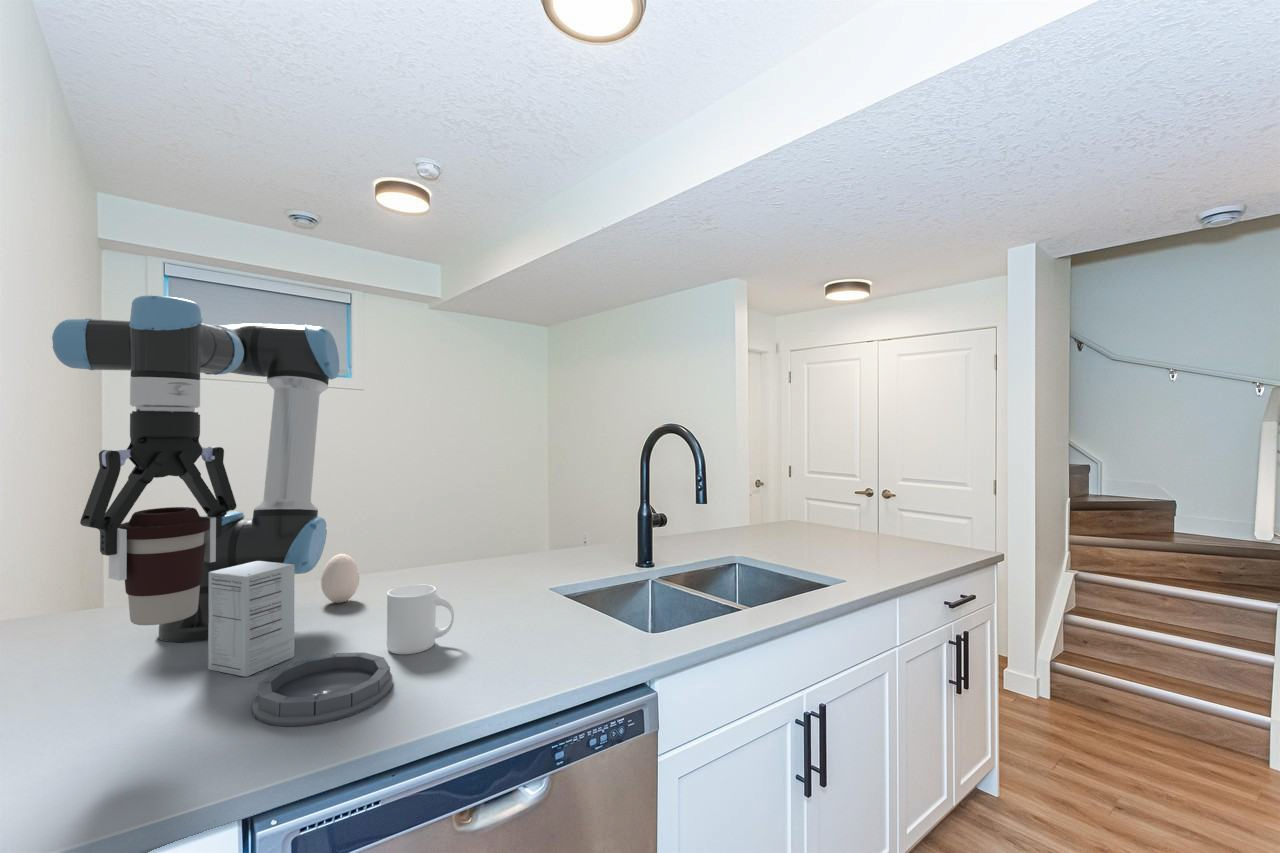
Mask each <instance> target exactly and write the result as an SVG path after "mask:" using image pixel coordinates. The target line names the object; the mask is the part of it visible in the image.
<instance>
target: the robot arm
mask: <svg viewBox="0 0 1280 853" xmlns="http://www.w3.org/2000/svg"><path fill="white" fill-rule="evenodd" d="M132 300H133V301H131V302H132V303H131V307H130V318H129V321H128V320H113V319H93V318H70V319H69V318H68V319H65V320H62V321H61V322H59V323H58V324H57V326H55V328H54V330H53V332H52V334H51V335H52V336H51V340H52V350H53V352H54V355H55V357H56V358H57V359H58V361H60V362H61V363H62V364H63V365H64V366H66V367H69V368H71V369H80V370H81V369H82V370H89V371H130V378H129V379H130V380H129V389H130V390H129V406H130V407H135V410H132V411H131V413H129V438H130V441H129V445H128V446H127V448H126V449H119V450H117V449H116V450H113V449H112V450H110V449H109V450H108V449H102V450H100V451H99V453H98V460H99V461H98V465H99V469H98V472H97V474H96V477H95V480H94V483H93V484H92V487H91V491H90V494H89V497H88V499H87V500H86V501H87V502H86V505H85V508H84V510H83V513H82V516H81V519H80V521H79V523H80V525H81V526H82V527H88V528H93V529H97V530H98V531H99V551H100V553H101V555H103V556H106V557H107V556H108V579H112V580H116V581H125V579H126V568H127V530H126V529H120V528H119V526H120V525H121V524H123V523H124V520H125V519H126V517H127V516H128V514H129V513H130V511H131V510H132V508H133V507H134V505H135V503H136V502H137V501H138V499H139V498H140V496H141V495H142V493H143V491H144V490H145V489H146V487H147V486H148V485H149V484H150V483H152V482H153V480H154V478H155V479H157V478H158V479H159V478H166V477H168V476H170V477H179V478H180V479H181V480H182V481H183V482H184V484H185V485H186V486H187V488H188V490H189V491H190V493H191V494H192V496H194V498H195V499H196V500H195V501H197V503H198V504H199V505H200V507H201V508H202V510H203V511H204V512H205V514H204V515H200V516H201V517H207V518H209V519H210V529H209V530H207V531H205V533H204V543H205V555H204V566H203V578H202V583H201V584H200V590H199V602H198V610H197V612H196V613H195V614H194V615H192V616H190V617H188V618H185V619H183V620H179V621H175V622H171V623H166V624H159V625H158V639H159V640H160V641H163V642H169V643H170V642H171V643H189V642H199V641H205V640H208V625H209V572H211V571H215V570H219V569H224V568H228V567H233V566H237V565H241V564H245V563H249V562H254V561H266V562H275V563H285V564H294V575H300V574H306V573H307V574H308V573H309V572H311V571H312V570H314V568H315V567H316V566H317V565H318V563H319V561H320V560H321V557H322V555H323V552H324V549H325V547H326V546H325V545H326V541H327V535H328V534H327V533H328V532H327V531H328V530H327V526H328V525H327V522H326V519H324V517H321V516H319V509H318V507H317V506H316V505H314V504H313V502H312V490H313V489H312V488H313V477H314V464H315V455H316V454H315V453H316V444H317V443H316V441H317V430H318V429H317V428H318V419H319V417H318V416H319V407H320V406H319V405H320V395H321V394H322V393H323V392H325V391H326V390H327V389H328V387H329V380H334V379H335V380H336V378H338V376H339V373H340V358H339V349H338V346H337V343H336V340H335V338H334V336H333V334H332V332H331V331H330V330H329V329H327V328H325V327H324V326H316V325H315V326H314V325H308V324H304V325H303V324H301V325H299V324H279V323H275V324H274V323H258V322H256V323H255V322H253V323H250V322H249V323H238V324H237V323H236V324H235V323H234V324H223V325H222V324H207V323H204V322H203V318H202V313H201V307H200V306H199V304H198V303H197V302H194V301H192V300H190V299H189V300H188V299H185V298H179V297H173V296H166V295H165V296H164V295H141V296H140V295H139V296H137V297H135V298H134V299H132ZM229 373H230V374H235V375H237V374H238V375H242V376H252V377H265V378H266V383H267V384H268V385H269V386H270V387H271V388H272V389H273V403H272V410H271V418H270V419H271V420H270V430H269V440H268V441H269V442H268V450H267V461H266V473H265V482H264V493H263V500H262V502H261V503H260V504H259V505H257V506H256V507H255V508H253V515H252V518H245V515H244V512H243V511H240V510H238V511H237V509H236V508H237V502H236V498H235V496H234V493H233V490H232V487H231V483H230V481H229V477H228V474H227V473H228V472H227V470H226V467H225V464H224V456H225V449H224V448H223V447H221V446H208V447H205V446H204V447H202V445H201V443H200V436H201V414H199V412H198V411H196V412H195V410H196V409H197V408H200V407H201V374H206V375H226V374H229ZM200 457H201V459H202V460H203V461H204V464H205V469H206V471H207V474H208V477H209V480H210V483H211V486H212V490H213V493H214V494H213V493H212V491H211V489H210V488H209V486H208V485H207V483H206V482H205V481H204V479H203V477H202V476H201V475H202V473H201V472H200V470H199V469H198V467H197V466H196V464H195V463H196V462H197V461H198V459H199V458H200ZM128 459H129V461H130V462H132V464H134V465H135V466H134V467H133V469H132V471H131V472H130V473H129V475H128V476H127V478H128V479H127V481H126V483H125V484H124V485H123V487H122V488H121V489H120V491H119V493H118V494H117V496H116V497H115V499H113V501H112V503H111V504H110V501H111V498H112V495H113V493H114V490H115V488H116V485H117V481H118V479H119V476H120V473H121V468H122V467H123V466H124V465H125V464H126V461H127V460H128ZM109 504H110V506H109ZM234 510H236V511H234Z"/></svg>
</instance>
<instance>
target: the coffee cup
mask: <svg viewBox="0 0 1280 853" xmlns="http://www.w3.org/2000/svg"><path fill="white" fill-rule="evenodd" d="M201 516H202V515H200V514H199V512H198V510H197V509H196V507H188V506H186V507H185V506H173V507H172V506H171V507H159V508H149V509H142V510H138V511H135V512H134V513H132V515H131V517H130V518H129V521H126V522H122V523H121V525H120V526H119V528H120V529H126V530H127V568H126V579H125V580H124V588H125V594H127V597H128V609H129V620H130V623H132V624H133V625H137V626H157V625H158V626H159V624H166V623H171V622H175V621H179V620H183V619H185V618H188V617H190V616H192V615H194V614H195V613H196V612H197V610H198V602H199V590H200V584H201V583H202V578H203V566H204V555H205V543H204V533H205V531H207V530H209V529H210V519H209V518H207V517H201Z"/></svg>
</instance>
